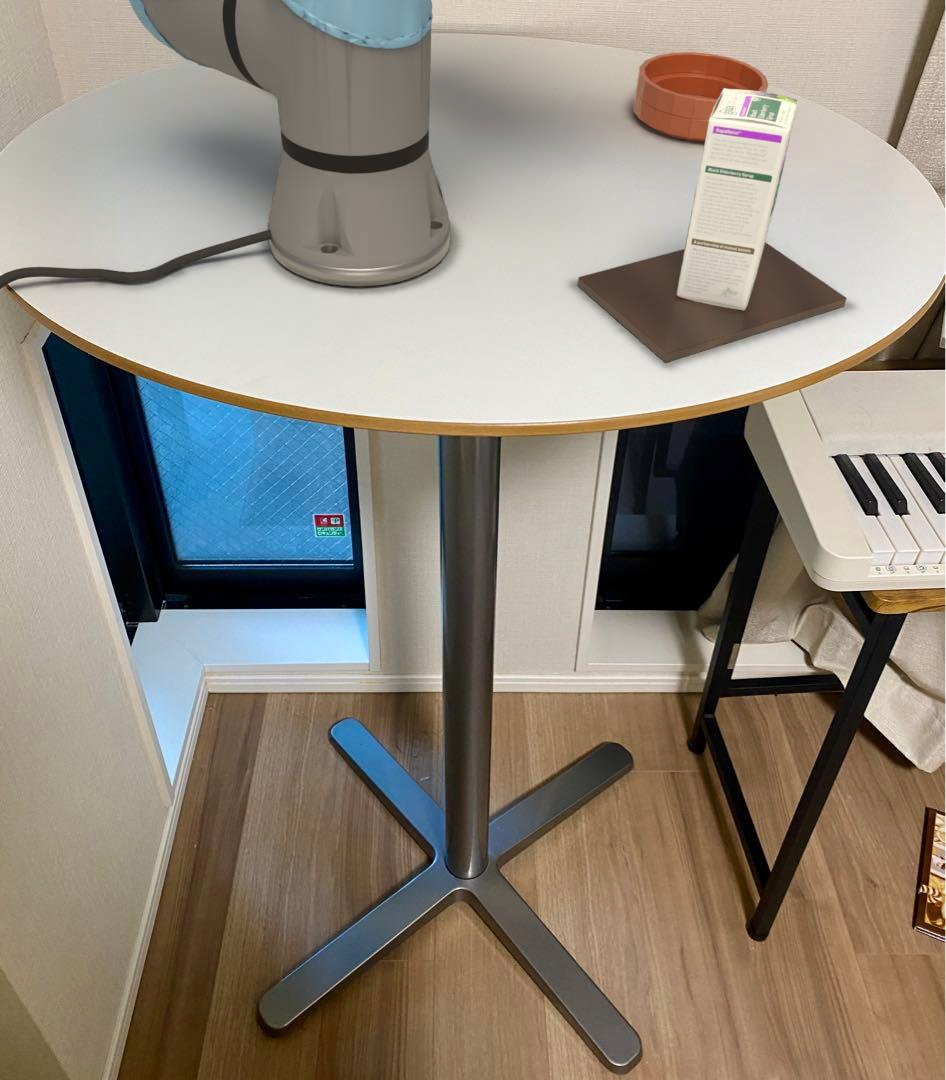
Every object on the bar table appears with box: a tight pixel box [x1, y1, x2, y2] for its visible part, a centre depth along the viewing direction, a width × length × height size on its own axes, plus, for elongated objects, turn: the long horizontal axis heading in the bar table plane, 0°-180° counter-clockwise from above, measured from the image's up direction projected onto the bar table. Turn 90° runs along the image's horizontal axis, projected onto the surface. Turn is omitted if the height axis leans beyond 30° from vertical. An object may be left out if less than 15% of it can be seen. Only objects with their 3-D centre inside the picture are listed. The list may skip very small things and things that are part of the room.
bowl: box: [633, 51, 769, 143], centre depth 104 cm, size 13×13×4 cm
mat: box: [577, 241, 847, 363], centre depth 80 cm, size 18×12×1 cm, turn 119°
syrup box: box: [676, 88, 799, 310], centre depth 75 cm, size 6×6×14 cm
